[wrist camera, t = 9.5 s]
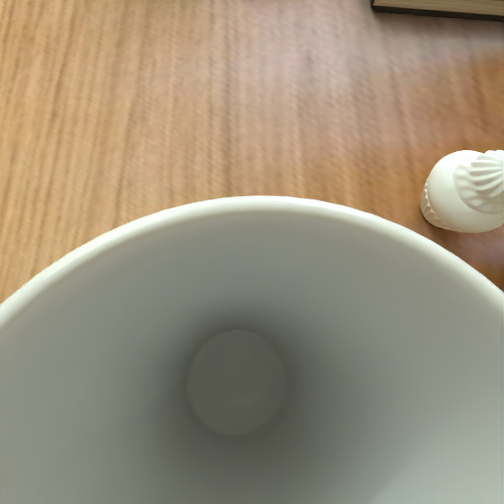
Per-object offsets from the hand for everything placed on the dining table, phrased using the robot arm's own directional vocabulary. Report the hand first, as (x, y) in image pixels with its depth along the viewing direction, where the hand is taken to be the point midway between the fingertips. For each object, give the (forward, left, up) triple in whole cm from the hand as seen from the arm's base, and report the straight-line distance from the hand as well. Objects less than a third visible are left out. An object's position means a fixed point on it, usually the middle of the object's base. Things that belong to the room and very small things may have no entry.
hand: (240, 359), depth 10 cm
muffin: (+12, -15, -12) cm, 23 cm away
